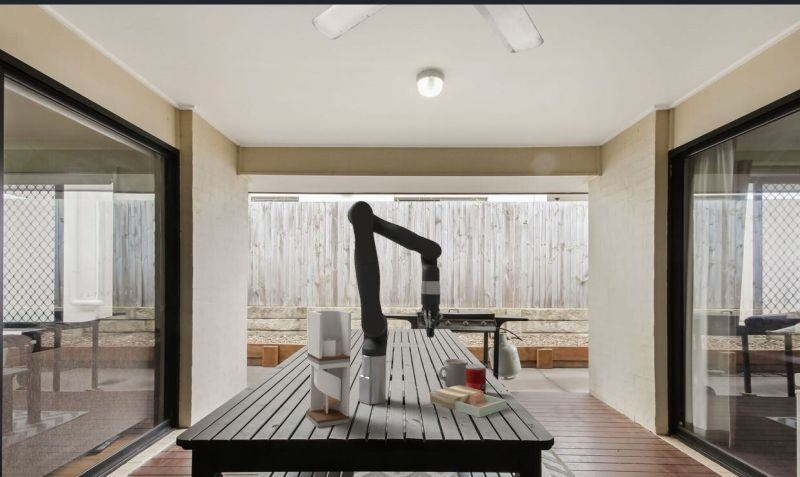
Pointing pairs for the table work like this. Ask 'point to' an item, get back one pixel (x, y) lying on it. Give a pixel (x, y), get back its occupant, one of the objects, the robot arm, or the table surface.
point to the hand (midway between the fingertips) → (430, 337)
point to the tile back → (476, 398)
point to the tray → (484, 410)
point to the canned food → (476, 377)
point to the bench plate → (452, 396)
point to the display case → (329, 367)
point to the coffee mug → (454, 372)
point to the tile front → (482, 404)
